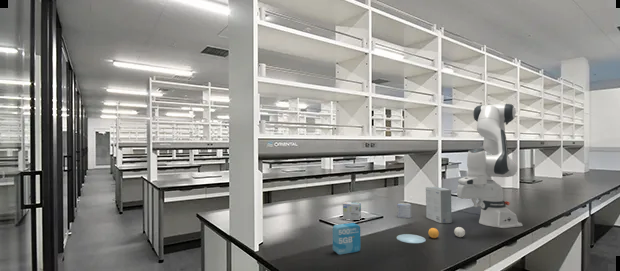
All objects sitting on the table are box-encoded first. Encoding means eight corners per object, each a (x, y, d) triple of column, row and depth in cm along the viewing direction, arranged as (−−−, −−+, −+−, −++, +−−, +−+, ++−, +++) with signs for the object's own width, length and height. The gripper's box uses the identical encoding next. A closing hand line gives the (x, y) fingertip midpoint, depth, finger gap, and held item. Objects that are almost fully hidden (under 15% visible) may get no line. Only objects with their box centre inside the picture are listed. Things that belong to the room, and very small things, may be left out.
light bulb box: (361, 219, 196) (361, 202, 196) (359, 221, 189) (359, 204, 190) (345, 217, 199) (344, 201, 199) (342, 220, 193) (342, 203, 193)
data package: (337, 255, 134) (336, 227, 134) (332, 251, 138) (332, 225, 138) (360, 251, 138) (360, 224, 139) (355, 248, 143) (355, 222, 143)
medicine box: (409, 216, 201) (409, 203, 201) (411, 218, 197) (411, 204, 197) (397, 216, 202) (397, 203, 202) (398, 218, 198) (398, 204, 198)
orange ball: (435, 236, 159) (435, 226, 159) (440, 239, 154) (440, 229, 154) (426, 236, 159) (426, 226, 159) (431, 239, 154) (431, 229, 154)
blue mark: (418, 234, 163) (418, 233, 163) (430, 242, 149) (430, 242, 149) (392, 235, 162) (392, 234, 162) (402, 243, 148) (402, 243, 148)
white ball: (461, 235, 160) (461, 225, 160) (467, 238, 155) (467, 228, 155) (452, 235, 160) (452, 226, 160) (457, 238, 155) (457, 228, 155)
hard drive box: (452, 223, 184) (451, 189, 185) (441, 224, 182) (440, 190, 183) (436, 216, 199) (435, 186, 200) (425, 217, 198) (425, 186, 198)
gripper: (491, 179, 163) (492, 205, 163) (455, 179, 161) (455, 206, 161) (500, 180, 157) (500, 207, 156) (462, 181, 155) (462, 208, 155)
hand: (477, 206), depth 159 cm, fingers closed
